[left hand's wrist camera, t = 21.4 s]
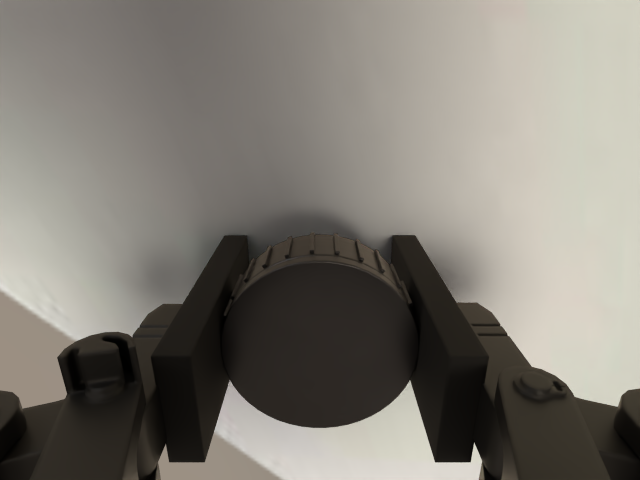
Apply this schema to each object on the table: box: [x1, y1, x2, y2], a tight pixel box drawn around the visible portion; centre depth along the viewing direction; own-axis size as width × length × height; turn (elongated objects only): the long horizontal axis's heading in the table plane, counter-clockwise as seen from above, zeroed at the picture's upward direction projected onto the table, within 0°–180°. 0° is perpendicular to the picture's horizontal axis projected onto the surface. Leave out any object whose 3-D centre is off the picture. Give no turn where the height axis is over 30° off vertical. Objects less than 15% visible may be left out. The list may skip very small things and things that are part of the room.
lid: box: [220, 232, 419, 428], centre depth 11 cm, size 5×5×2 cm
